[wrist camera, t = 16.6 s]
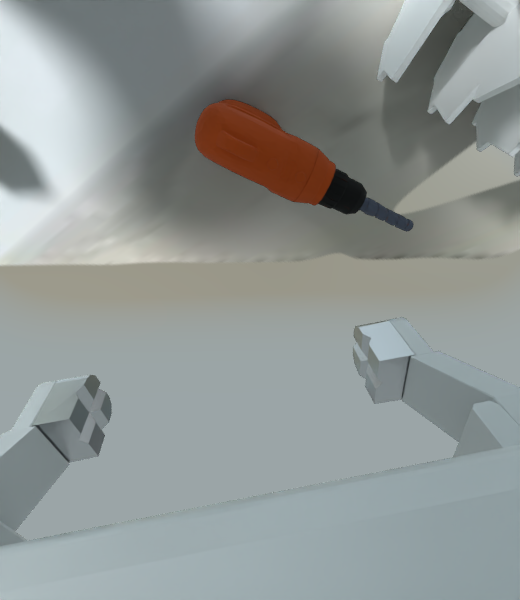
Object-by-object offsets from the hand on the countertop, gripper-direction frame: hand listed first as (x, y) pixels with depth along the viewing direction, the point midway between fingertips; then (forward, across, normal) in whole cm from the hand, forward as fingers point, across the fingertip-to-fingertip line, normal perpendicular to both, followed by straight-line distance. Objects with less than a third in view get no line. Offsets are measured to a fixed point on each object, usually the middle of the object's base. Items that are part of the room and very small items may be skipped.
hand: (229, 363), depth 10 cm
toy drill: (+29, -7, -1) cm, 30 cm away
